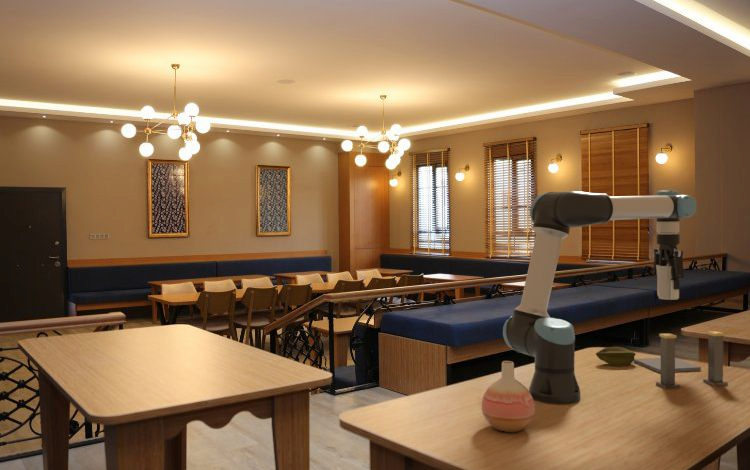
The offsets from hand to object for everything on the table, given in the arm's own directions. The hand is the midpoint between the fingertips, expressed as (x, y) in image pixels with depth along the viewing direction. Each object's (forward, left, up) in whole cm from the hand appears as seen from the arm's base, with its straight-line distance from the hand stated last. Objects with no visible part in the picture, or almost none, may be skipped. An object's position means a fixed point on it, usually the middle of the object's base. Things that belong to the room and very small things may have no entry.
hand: (667, 296), depth 226 cm
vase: (-80, -51, -26) cm, 98 cm away
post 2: (+2, -23, -26) cm, 34 cm away
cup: (0, 0, -1) cm, 1 cm away
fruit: (-16, +7, -26) cm, 31 cm away
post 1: (-15, -23, -26) cm, 38 cm away
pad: (0, +1, -26) cm, 26 cm away
